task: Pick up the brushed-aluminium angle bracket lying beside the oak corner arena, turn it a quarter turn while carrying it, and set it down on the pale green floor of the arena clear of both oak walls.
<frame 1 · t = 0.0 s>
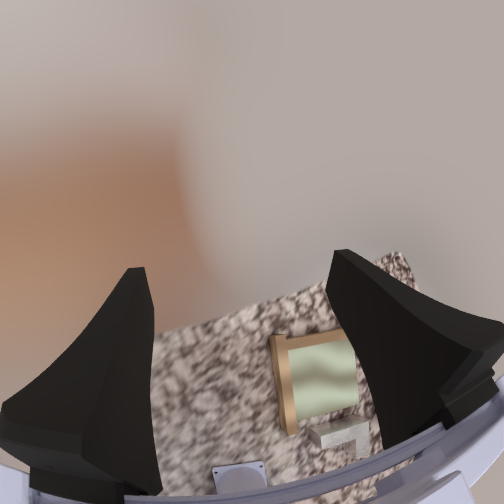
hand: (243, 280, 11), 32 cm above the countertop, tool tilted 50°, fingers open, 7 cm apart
arena: (321, 378, 41), on the countertop
bracket: (332, 426, 39), on the countertop
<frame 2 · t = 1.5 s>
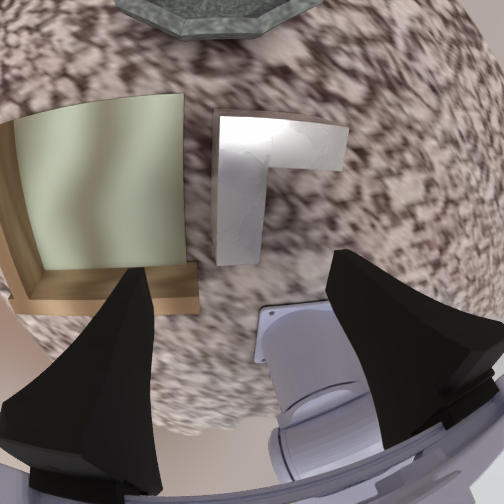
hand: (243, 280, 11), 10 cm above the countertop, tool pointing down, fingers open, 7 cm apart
arena: (96, 190, 17), on the countertop
bracket: (229, 169, 18), on the countertop
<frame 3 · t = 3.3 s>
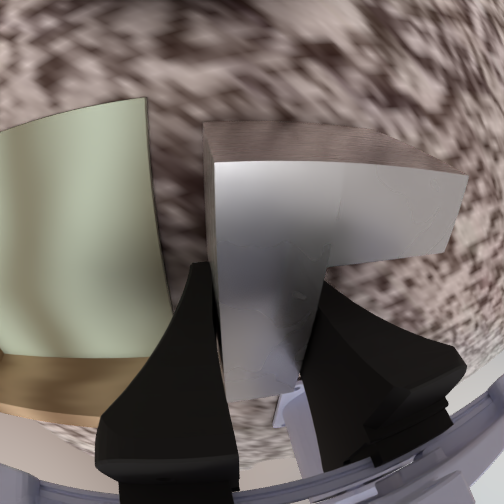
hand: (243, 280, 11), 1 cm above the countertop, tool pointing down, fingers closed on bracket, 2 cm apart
arena: (36, 265, 10), on the countertop
bracket: (237, 226, 11), on the countertop, touching gripper
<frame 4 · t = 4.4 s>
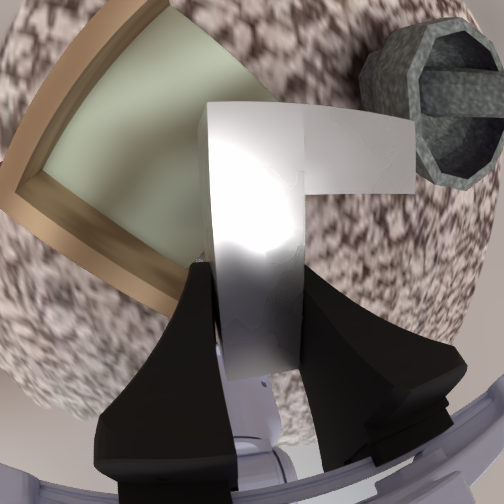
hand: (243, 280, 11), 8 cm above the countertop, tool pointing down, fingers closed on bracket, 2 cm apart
arena: (172, 145, 15), on the countertop
bracket: (230, 221, 12), point 6 cm above the countertop, tilted 16°, touching gripper
mortar and pestle: (400, 84, 15), on the countertop
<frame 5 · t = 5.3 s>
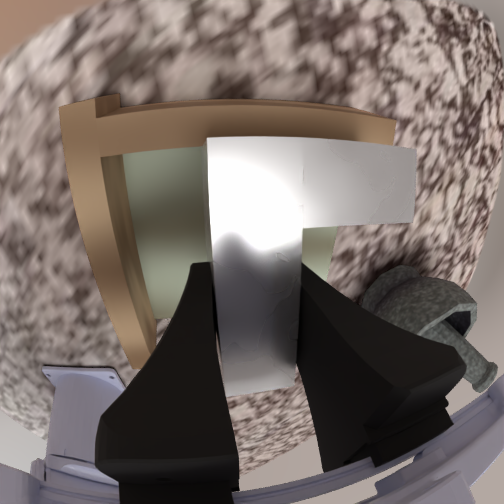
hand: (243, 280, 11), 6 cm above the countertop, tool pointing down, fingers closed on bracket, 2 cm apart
arena: (240, 232, 17), on the countertop
bracket: (233, 240, 13), point 4 cm above the countertop, tilted 16°, touching gripper
mortar and pestle: (394, 292, 24), on the countertop
when the fingers open (3 cm above the countertop, at t = 6.0 s): bracket stays where it is, resting on arena.
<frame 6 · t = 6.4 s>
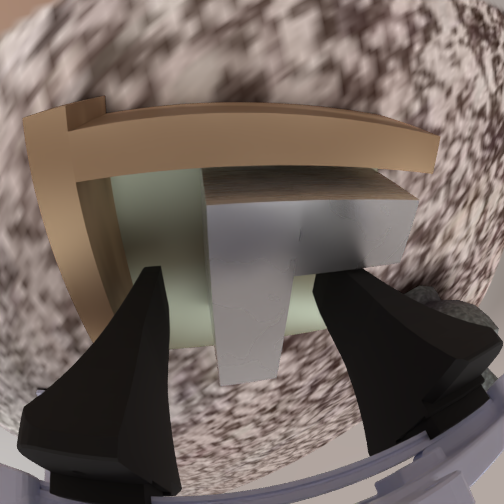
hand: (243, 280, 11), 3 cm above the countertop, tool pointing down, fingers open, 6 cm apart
arena: (250, 258, 15), on the countertop
bracket: (229, 238, 13), resting on arena
mortar and pestle: (410, 312, 21), on the countertop
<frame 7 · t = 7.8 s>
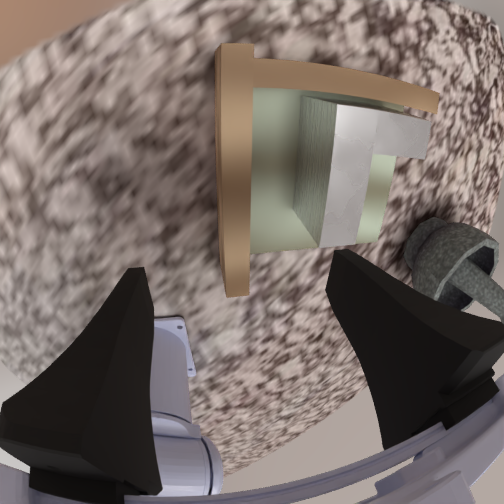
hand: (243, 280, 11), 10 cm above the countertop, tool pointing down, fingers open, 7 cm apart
arena: (323, 173, 20), on the countertop
bracket: (313, 155, 18), resting on arena
mortar and pestle: (428, 242, 26), on the countertop
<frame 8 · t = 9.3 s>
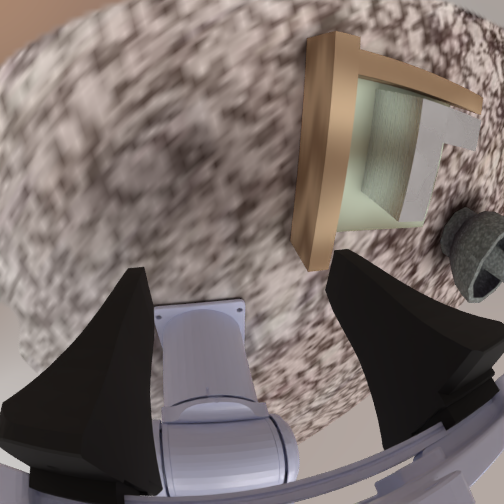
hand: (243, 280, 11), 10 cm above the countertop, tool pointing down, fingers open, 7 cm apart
arena: (386, 160, 20), on the countertop
bracket: (382, 142, 19), resting on arena
mortar and pestle: (459, 231, 27), on the countertop
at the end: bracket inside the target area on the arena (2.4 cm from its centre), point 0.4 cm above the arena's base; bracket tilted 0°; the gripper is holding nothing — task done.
